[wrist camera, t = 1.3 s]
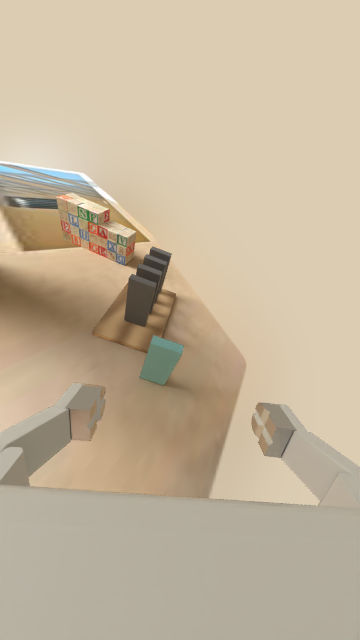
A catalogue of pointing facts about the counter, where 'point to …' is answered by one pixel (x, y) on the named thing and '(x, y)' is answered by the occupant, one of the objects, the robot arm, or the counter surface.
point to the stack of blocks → (95, 229)
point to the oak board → (133, 334)
